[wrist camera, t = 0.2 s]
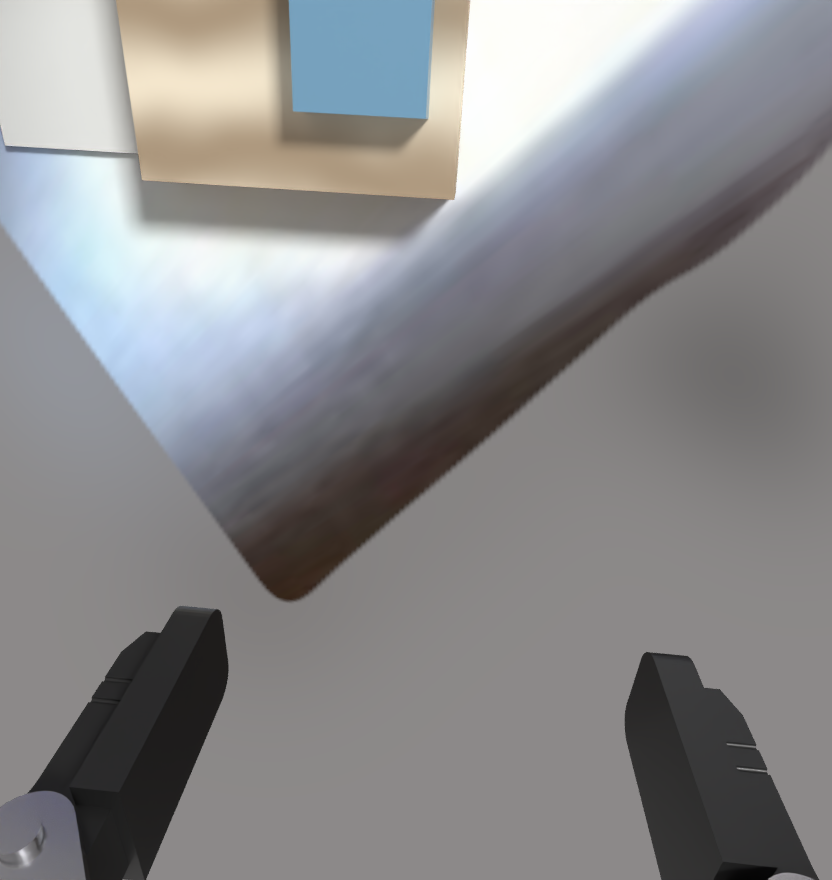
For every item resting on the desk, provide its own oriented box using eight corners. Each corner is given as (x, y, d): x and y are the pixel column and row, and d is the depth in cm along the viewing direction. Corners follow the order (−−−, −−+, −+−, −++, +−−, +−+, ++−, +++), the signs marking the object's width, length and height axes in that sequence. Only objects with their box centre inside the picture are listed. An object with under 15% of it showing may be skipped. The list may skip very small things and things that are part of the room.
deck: (128, -214, 27) (77, -264, 24) (485, -202, 27) (487, -252, 23) (175, 174, 35) (141, 180, 31) (455, 191, 34) (454, 200, 30)
